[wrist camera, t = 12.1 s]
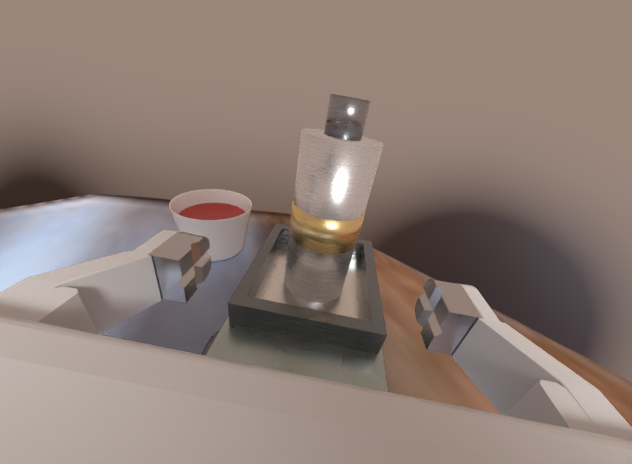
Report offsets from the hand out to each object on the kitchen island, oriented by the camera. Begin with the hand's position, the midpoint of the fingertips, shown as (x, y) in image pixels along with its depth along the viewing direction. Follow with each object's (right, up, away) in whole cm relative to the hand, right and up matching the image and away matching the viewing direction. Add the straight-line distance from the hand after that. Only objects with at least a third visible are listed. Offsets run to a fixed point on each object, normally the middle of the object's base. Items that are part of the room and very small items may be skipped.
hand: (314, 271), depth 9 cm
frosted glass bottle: (0, -2, +10) cm, 11 cm away
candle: (-13, -1, +23) cm, 26 cm away
